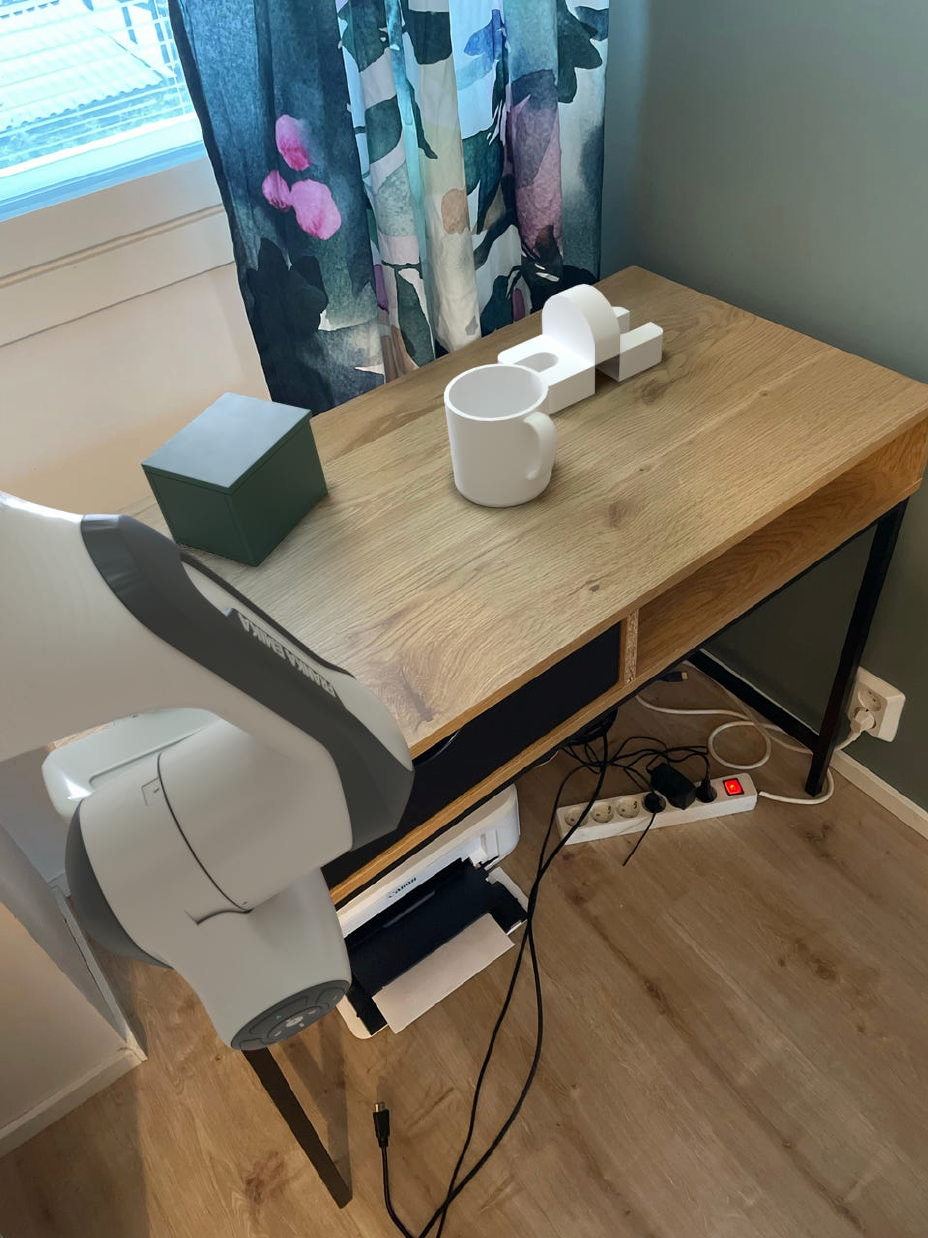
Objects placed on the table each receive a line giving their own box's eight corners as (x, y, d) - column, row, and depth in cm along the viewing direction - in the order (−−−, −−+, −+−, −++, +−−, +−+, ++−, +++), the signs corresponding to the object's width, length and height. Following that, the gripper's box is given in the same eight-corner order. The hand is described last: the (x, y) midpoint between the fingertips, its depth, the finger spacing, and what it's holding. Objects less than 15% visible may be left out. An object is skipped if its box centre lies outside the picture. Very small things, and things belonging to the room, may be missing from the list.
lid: (229, 397, 92) (227, 391, 92) (313, 416, 88) (311, 409, 88) (143, 470, 85) (140, 463, 84) (230, 495, 81) (228, 487, 80)
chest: (248, 470, 98) (225, 400, 92) (328, 491, 94) (309, 420, 88) (174, 541, 91) (143, 471, 85) (256, 567, 87) (230, 495, 81)
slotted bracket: (613, 330, 112) (614, 252, 104) (666, 359, 106) (671, 278, 99) (494, 383, 106) (487, 304, 99) (544, 417, 100) (540, 336, 93)
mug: (435, 479, 94) (422, 393, 86) (506, 438, 98) (500, 352, 90) (516, 533, 86) (509, 444, 79) (589, 486, 90) (589, 397, 83)
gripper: (355, 713, 60) (291, 590, 69) (46, 847, 55) (20, 695, 64) (371, 767, 64) (309, 646, 73) (87, 896, 59) (57, 748, 68)
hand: (172, 670), depth 69 cm, fingers closed on ink box, 5 cm apart
